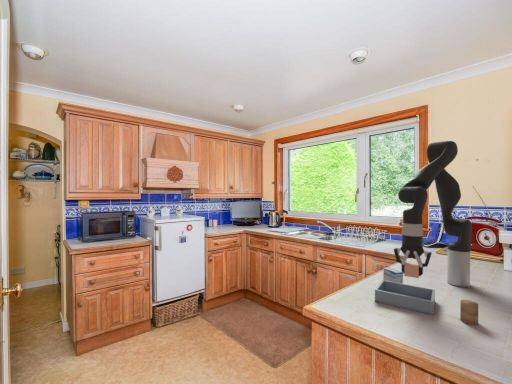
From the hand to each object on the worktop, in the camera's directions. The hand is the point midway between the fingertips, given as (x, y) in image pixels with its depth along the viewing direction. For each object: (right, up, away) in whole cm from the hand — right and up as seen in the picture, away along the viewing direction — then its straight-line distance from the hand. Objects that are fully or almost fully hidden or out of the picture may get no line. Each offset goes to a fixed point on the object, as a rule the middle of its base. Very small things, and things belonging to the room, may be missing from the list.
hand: (411, 274), depth 110 cm
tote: (-2, -12, +2) cm, 12 cm away
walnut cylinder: (+11, -12, -16) cm, 23 cm away
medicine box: (+1, -12, +18) cm, 22 cm away
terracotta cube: (0, 0, 0) cm, 0 cm away
